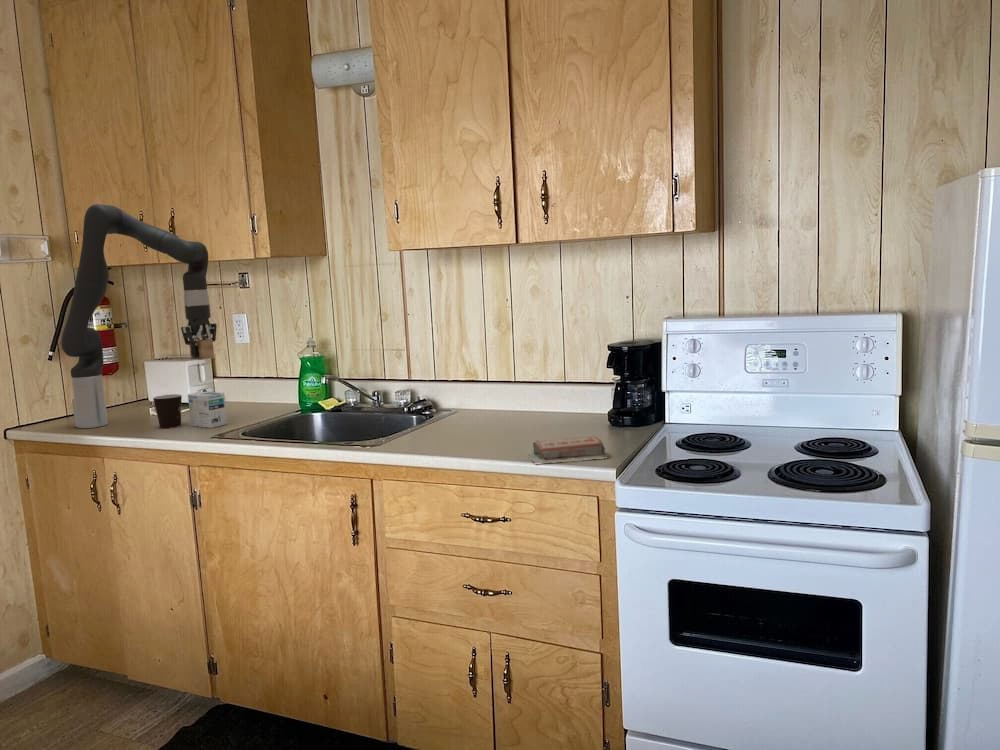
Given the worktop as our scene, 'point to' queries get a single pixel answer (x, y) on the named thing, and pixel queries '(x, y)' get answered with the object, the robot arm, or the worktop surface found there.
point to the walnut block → (204, 349)
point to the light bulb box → (207, 409)
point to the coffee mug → (168, 410)
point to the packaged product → (567, 449)
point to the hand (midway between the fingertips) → (202, 356)
